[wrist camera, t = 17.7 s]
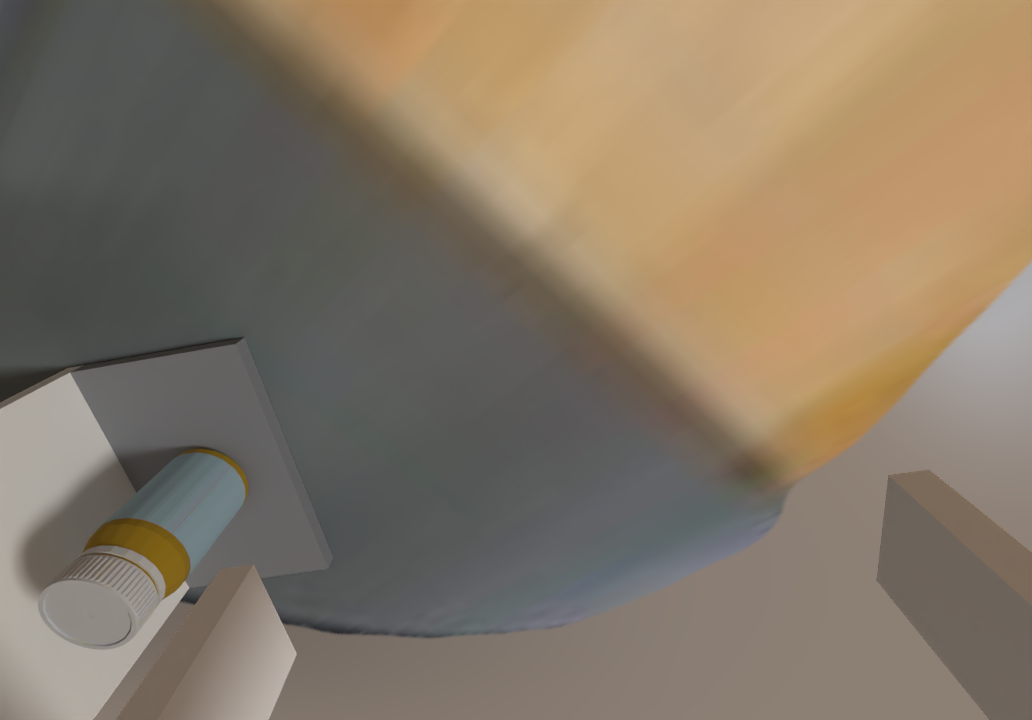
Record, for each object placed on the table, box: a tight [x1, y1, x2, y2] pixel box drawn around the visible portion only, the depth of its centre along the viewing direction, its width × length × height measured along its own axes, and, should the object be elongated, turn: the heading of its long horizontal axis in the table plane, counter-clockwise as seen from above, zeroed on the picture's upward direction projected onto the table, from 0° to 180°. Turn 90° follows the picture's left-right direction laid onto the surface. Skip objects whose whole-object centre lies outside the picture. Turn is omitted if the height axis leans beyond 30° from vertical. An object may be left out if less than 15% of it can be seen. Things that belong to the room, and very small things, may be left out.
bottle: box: [38, 449, 248, 650], centre depth 41 cm, size 7×7×15 cm
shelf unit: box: [0, 337, 333, 720], centre depth 35 cm, size 16×24×30 cm, turn 10°
